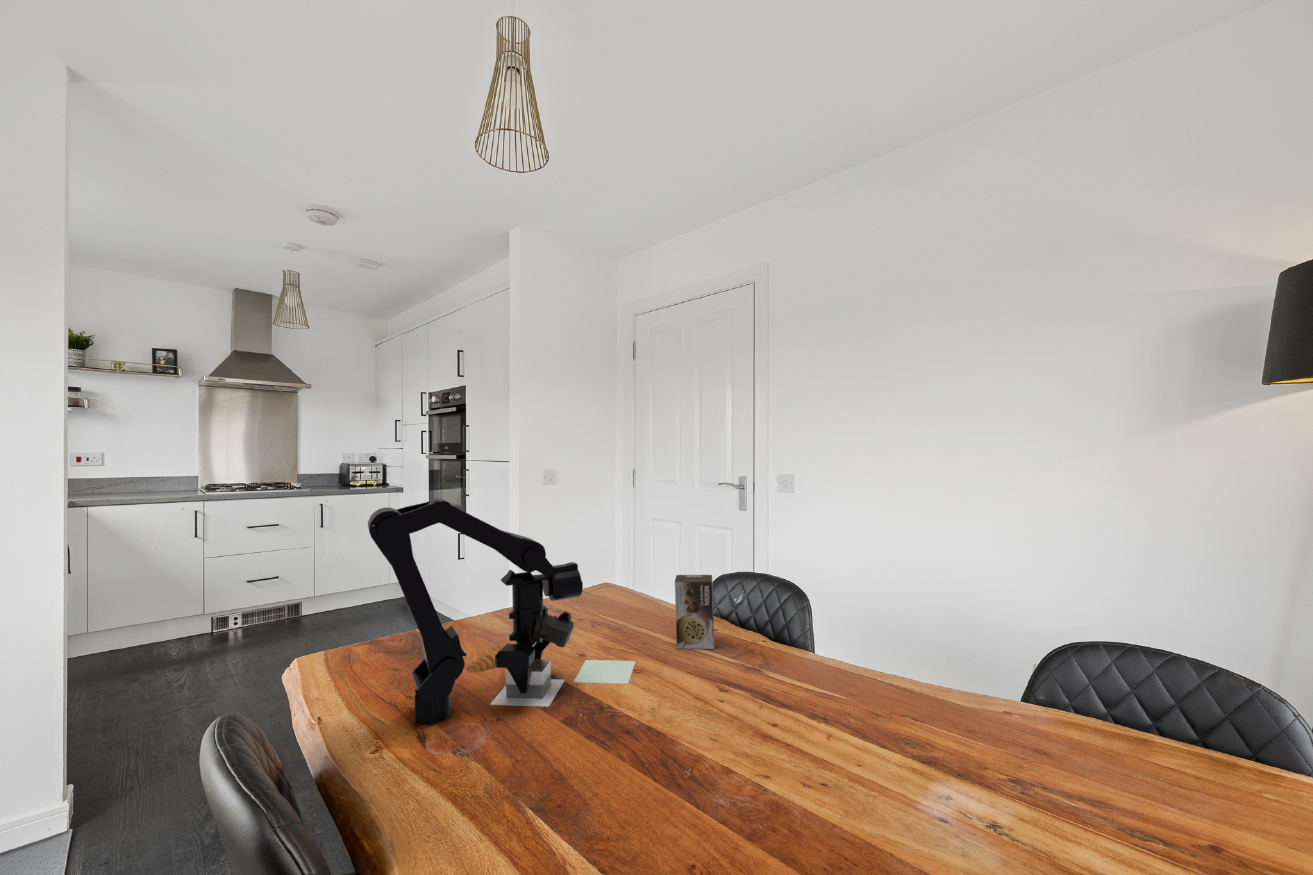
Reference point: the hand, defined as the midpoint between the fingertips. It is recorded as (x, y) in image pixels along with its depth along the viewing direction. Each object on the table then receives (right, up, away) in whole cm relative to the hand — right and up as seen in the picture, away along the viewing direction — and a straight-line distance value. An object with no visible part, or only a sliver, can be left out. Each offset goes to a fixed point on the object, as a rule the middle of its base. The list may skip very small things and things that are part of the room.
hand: (529, 686), depth 104 cm
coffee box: (+34, -2, +27) cm, 43 cm away
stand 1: (0, -3, 0) cm, 2 cm away
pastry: (-12, -3, +14) cm, 18 cm away
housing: (0, -1, 0) cm, 1 cm away
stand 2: (+14, -2, +9) cm, 17 cm away
